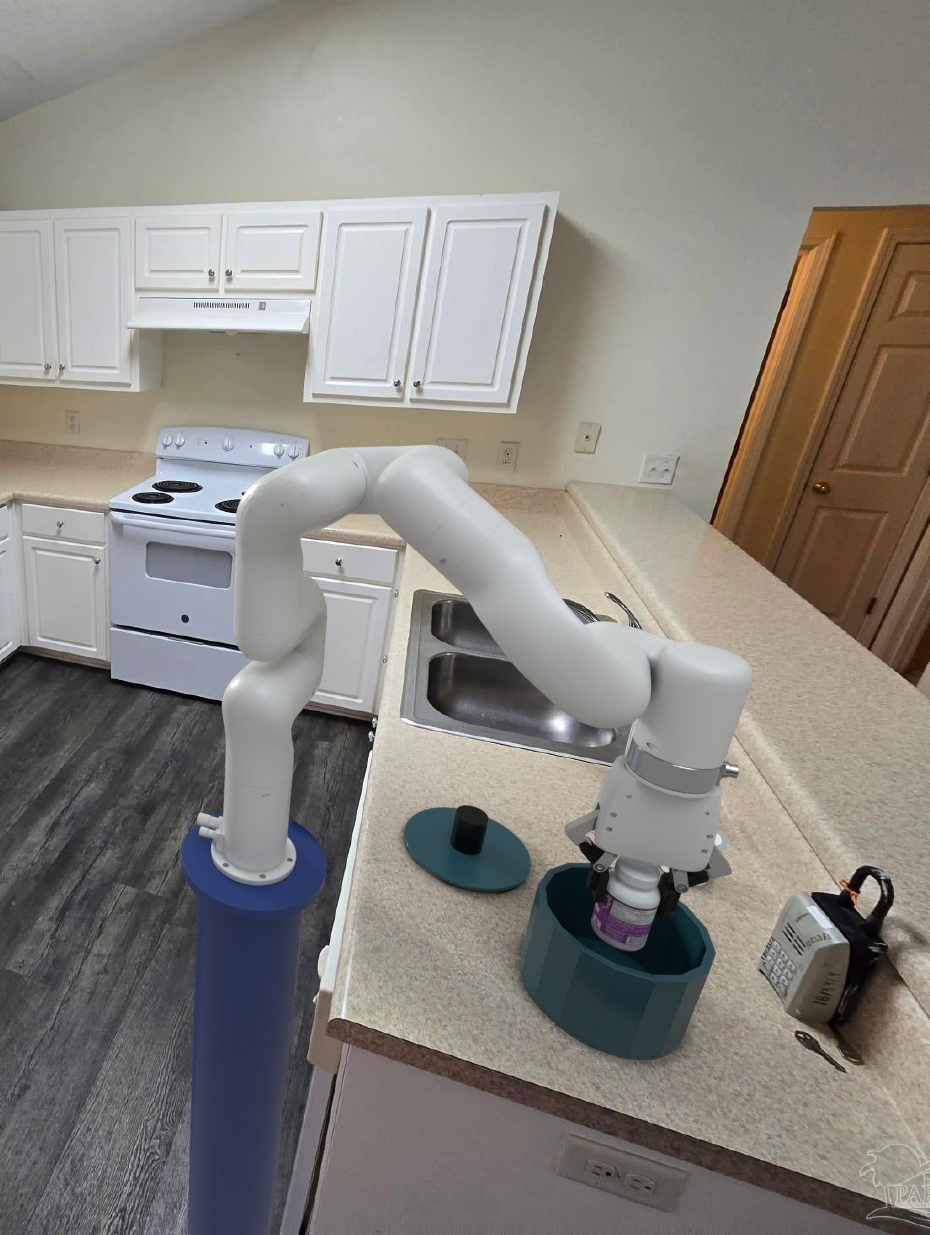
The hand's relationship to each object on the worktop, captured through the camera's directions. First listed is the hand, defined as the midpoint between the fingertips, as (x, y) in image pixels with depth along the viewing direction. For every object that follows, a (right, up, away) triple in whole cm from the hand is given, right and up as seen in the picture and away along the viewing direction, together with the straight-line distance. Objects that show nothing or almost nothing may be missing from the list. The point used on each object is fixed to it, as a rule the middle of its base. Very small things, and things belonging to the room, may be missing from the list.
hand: (627, 900), depth 76 cm
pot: (0, -13, +5) cm, 14 cm away
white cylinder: (+23, -6, +23) cm, 33 cm away
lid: (-6, -3, +27) cm, 28 cm away
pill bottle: (0, -5, +2) cm, 5 cm away
